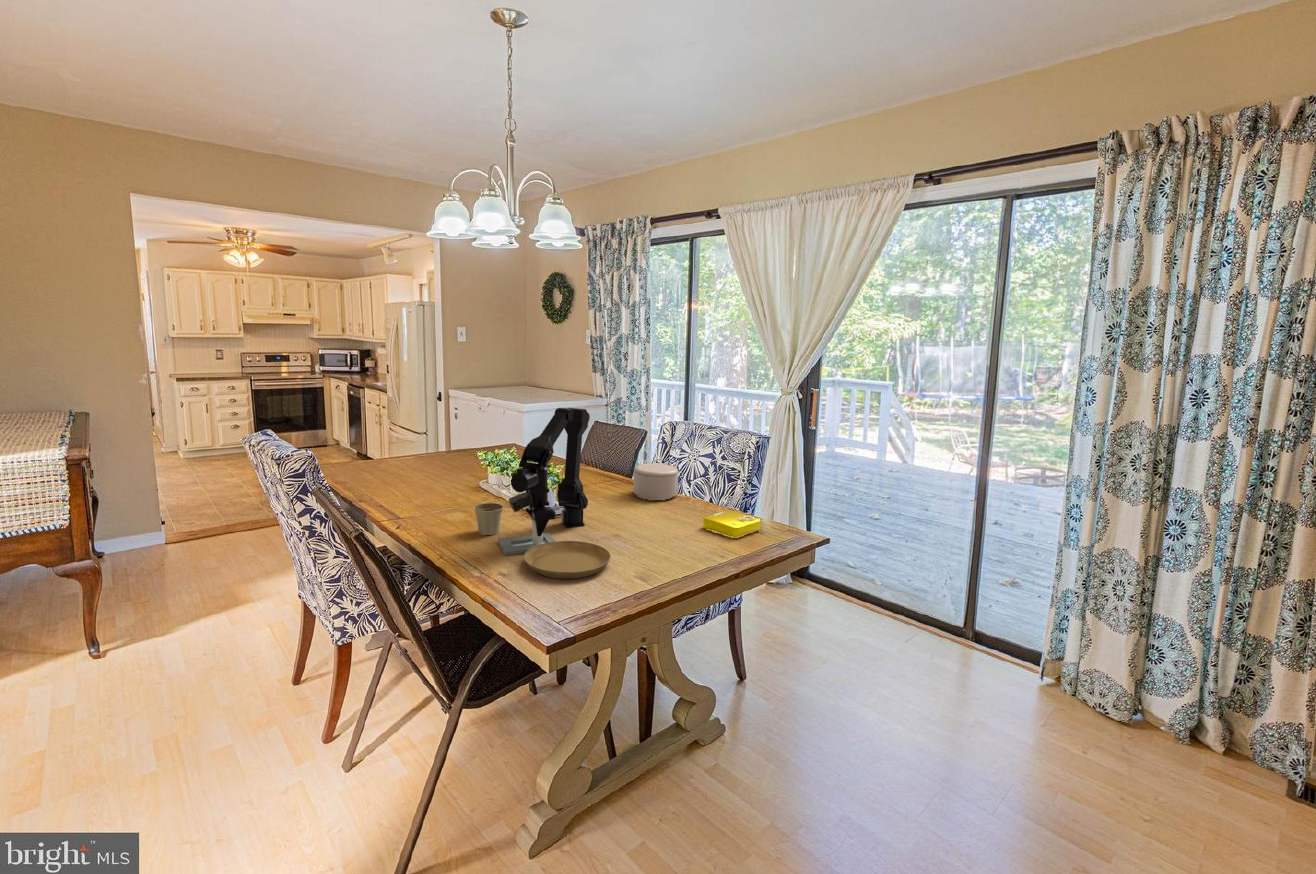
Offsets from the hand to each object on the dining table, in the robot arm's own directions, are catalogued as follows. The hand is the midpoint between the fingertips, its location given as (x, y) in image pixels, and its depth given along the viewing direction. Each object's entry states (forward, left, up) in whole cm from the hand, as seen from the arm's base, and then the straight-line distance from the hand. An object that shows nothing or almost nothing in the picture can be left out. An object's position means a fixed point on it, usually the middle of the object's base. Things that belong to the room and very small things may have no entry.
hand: (537, 534), depth 189 cm
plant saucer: (-4, +19, -4) cm, 20 cm away
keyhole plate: (+3, 0, -3) cm, 5 cm away
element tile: (-65, +6, -4) cm, 66 cm away
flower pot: (+12, -16, -4) cm, 20 cm away
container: (-58, -41, -4) cm, 71 cm away
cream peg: (0, 0, -2) cm, 3 cm away
